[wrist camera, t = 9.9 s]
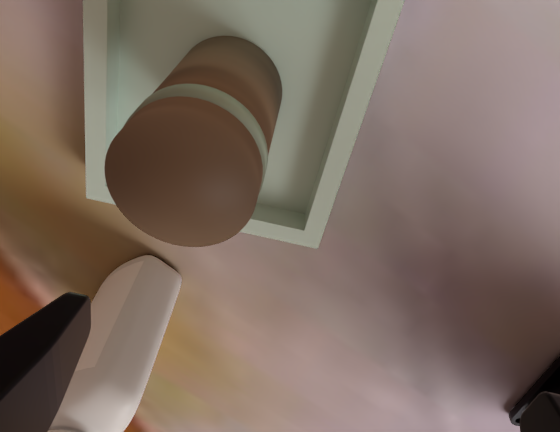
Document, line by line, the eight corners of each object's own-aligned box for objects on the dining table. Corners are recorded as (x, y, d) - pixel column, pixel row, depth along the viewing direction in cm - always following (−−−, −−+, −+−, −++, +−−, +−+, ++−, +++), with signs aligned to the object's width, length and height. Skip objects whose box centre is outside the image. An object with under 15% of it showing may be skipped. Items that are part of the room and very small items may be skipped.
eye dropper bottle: (72, 267, 25) (-93, 522, 15) (169, 246, 23) (59, 508, 14) (113, 324, 27) (-7, 577, 17) (203, 308, 26) (131, 570, 16)
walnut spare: (272, 149, 19) (245, 261, 14) (172, 126, 19) (103, 230, 13) (294, 49, 17) (273, 133, 11) (180, 22, 17) (100, 93, 11)
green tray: (317, 225, 22) (317, 249, 21) (101, 177, 21) (85, 198, 20) (405, -35, 16) (413, -27, 14) (103, -115, 15) (80, -115, 14)
